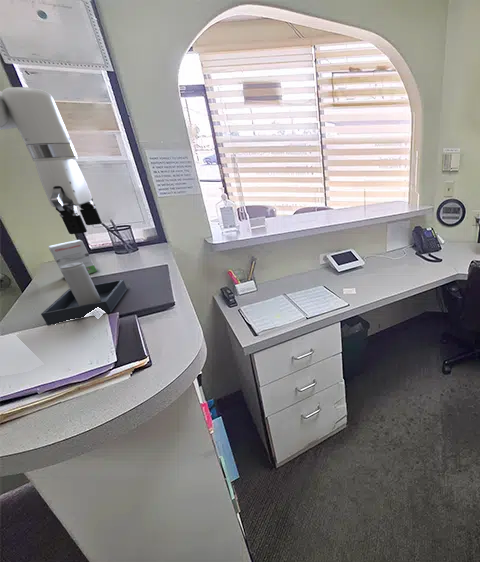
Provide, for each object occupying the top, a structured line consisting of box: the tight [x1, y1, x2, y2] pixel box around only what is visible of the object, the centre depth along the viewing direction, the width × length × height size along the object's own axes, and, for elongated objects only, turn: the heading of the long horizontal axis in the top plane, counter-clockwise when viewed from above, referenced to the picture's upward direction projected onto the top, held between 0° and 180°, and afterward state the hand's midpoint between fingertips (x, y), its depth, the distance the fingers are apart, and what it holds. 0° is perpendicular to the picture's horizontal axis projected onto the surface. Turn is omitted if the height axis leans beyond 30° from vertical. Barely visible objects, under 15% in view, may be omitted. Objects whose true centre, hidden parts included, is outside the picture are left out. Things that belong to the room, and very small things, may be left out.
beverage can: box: [59, 262, 101, 306], centre depth 84 cm, size 5×5×12 cm
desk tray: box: [40, 279, 128, 326], centre depth 86 cm, size 13×16×3 cm
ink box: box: [47, 239, 98, 275], centre depth 107 cm, size 9×5×12 cm, turn 141°
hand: (86, 228), depth 76 cm, fingers open, 9 cm apart
